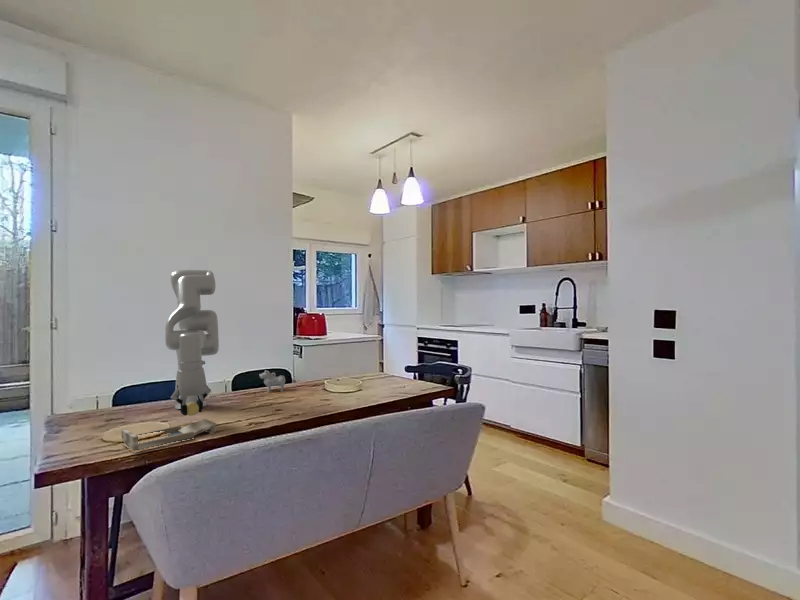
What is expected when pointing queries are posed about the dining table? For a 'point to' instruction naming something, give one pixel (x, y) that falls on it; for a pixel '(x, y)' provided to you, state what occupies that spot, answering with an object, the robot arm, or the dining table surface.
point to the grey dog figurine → (272, 380)
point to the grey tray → (132, 440)
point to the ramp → (199, 427)
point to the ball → (192, 408)
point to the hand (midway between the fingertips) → (191, 412)
